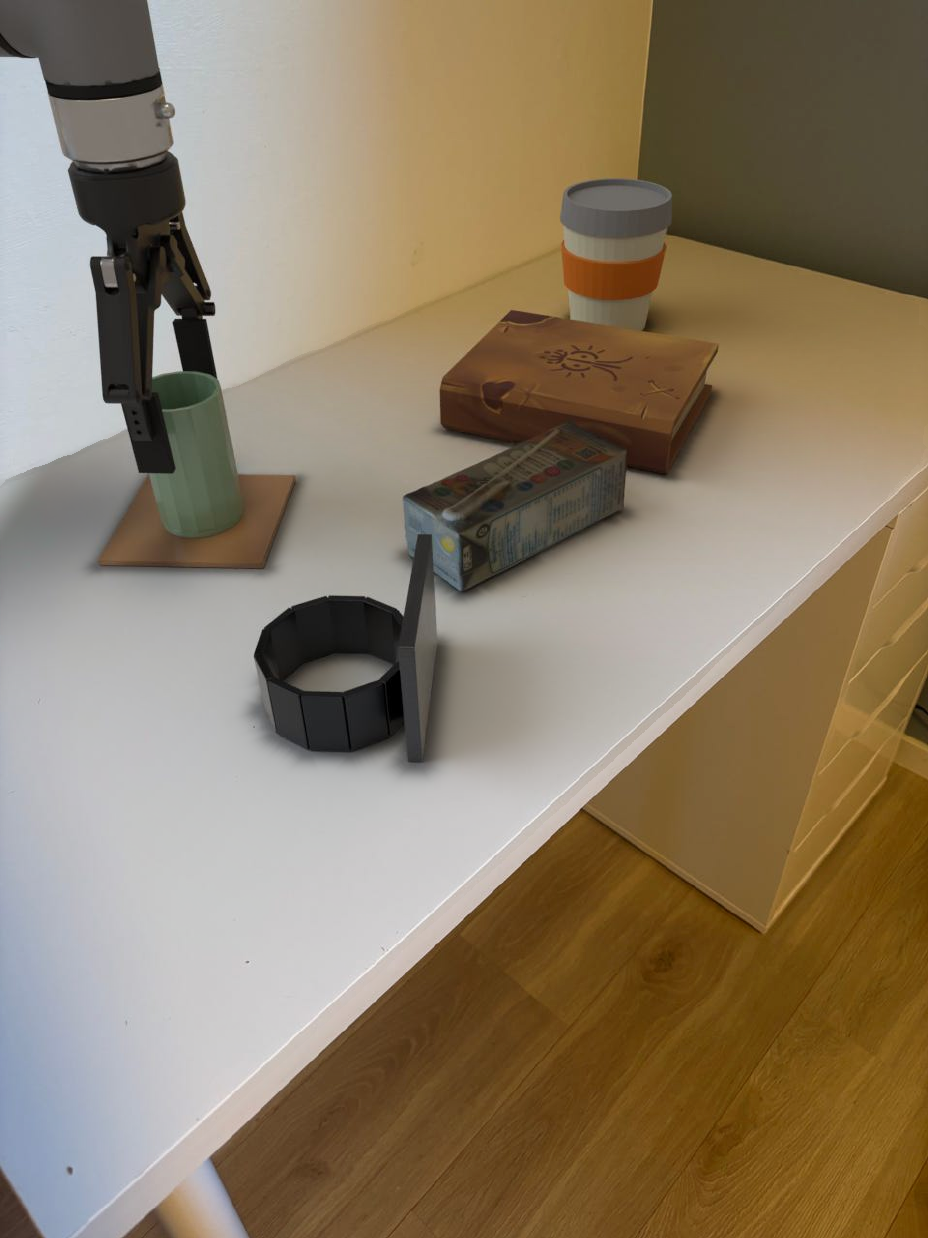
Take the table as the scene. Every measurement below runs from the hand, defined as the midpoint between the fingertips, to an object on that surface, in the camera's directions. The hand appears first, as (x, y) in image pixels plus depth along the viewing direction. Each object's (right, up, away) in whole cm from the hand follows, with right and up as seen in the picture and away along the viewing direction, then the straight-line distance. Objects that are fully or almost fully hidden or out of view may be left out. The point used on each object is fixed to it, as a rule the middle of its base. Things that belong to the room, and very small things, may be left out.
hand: (182, 429), depth 83 cm
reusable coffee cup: (+41, +20, +38) cm, 59 cm away
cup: (0, -7, +5) cm, 9 cm away
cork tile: (0, -7, +6) cm, 9 cm away
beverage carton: (+28, -8, +3) cm, 30 cm away
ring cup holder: (+15, -21, -12) cm, 29 cm away
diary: (+35, +5, +20) cm, 41 cm away
